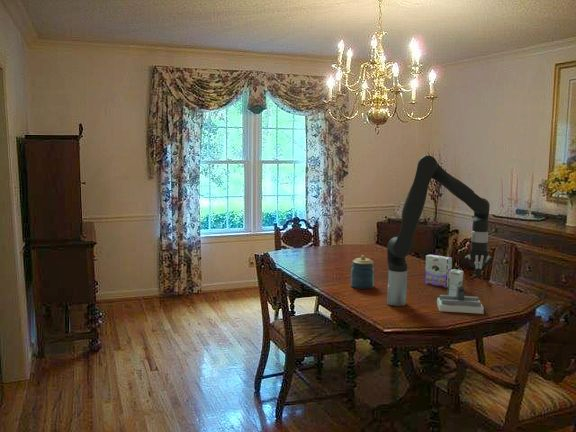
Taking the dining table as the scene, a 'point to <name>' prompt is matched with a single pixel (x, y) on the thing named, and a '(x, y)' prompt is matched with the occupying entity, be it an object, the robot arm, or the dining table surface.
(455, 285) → the syrup box
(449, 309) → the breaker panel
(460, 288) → the breaker lever
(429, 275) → the candy box
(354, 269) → the canister
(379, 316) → the dining table surface
